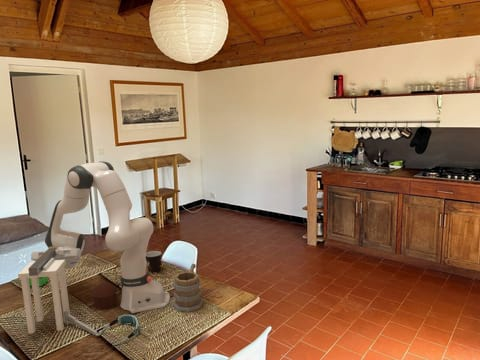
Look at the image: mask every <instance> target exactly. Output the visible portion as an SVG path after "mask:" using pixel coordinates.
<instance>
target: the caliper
mask: <svg viewBox="0 0 480 360" xmlns="http://www.w3.org/2000/svg"><path fill="white" fill-rule="evenodd" d="M68 313H69V312H67V310H66V311H65V312H64V313H63V312H62V317H63V325H67V326H68V325H70V323H71V324H72V325H76V326H78V327H80V328H82V329H83V330H85V331H86V332H88V333H90V334H91V335H93V336H96V337H97V336H98V335H99V334H100V332H99V333H98V331H97V330H95V329H93V328H92V327H91V326H89V325H87V324H85V323H83V322H82V321H80V320H78V319H77V317H75V316H73V315H72V314H71V313H70V314H68ZM98 337H99V336H98Z"/></svg>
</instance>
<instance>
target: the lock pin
mask: <svg viewBox="0 0 480 360" xmlns="http://www.w3.org/2000/svg"><path fill="white" fill-rule="evenodd" d="M55 250H58V247H57V246H54V247H49V248H48V247H47V249H46V250H45V251H46V252H45V253H44V254H43V255H42V256H41V257H40V258H38V259H37V260H36V261H33V262H34V263H33V264H32V265H31V266H30V267H29V268H28V270H29V276H35V275H38V274H39V273H40V272H41V271H42V270H43V267H44V266H45V265H46V264H47V263H48V261H49V260H50V259H51V258H54V257H55V256H56V255H55V254H54V251H55Z"/></svg>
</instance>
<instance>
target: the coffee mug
mask: <svg viewBox="0 0 480 360" xmlns="http://www.w3.org/2000/svg"><path fill="white" fill-rule="evenodd" d="M161 259H162V251H158V250H152V251H151V250H150V251H148V252H146V268H147V272H148V271H149V272H157V273H159V272H160V271H161V266H162V261H161ZM158 271H159V272H158Z"/></svg>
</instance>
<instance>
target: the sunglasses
mask: <svg viewBox="0 0 480 360" xmlns="http://www.w3.org/2000/svg"><path fill="white" fill-rule="evenodd" d="M116 323H119V324H120V323H131V324H130V325H131V326H134V328H135V329H134V330H133V331H132V332H131V333H130V334H129V335H127V336H126V337H125V338H124V339H122V340H121V341H119V342H117V343H114V344H112V345H110V348H112V347H115V346H114V345H117V344H119V345H120V343H121V344H122V343H124V342H126V341H127V340H128V339H129V340H130V339H131V338H133V337H134V336H135V335H137V334H138V333H139V334H140V327H139V326H140V325H139V321H138V318H137V317H136V315H134V314H123V315H119V316H118V317H117V318H115V319H114V320H112V321H111V322H110V323H109V324H107V325H106V326H104V327H103V329H102V330H101V331H100V332H99V335H98V336H96V337H97V338H98V337H100V336H101V335H102V334H103V332H105V331H106V329H107V328H109V327H112V326H113V325H115V324H116ZM139 334H138V335H139ZM117 346H118V345H117Z"/></svg>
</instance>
